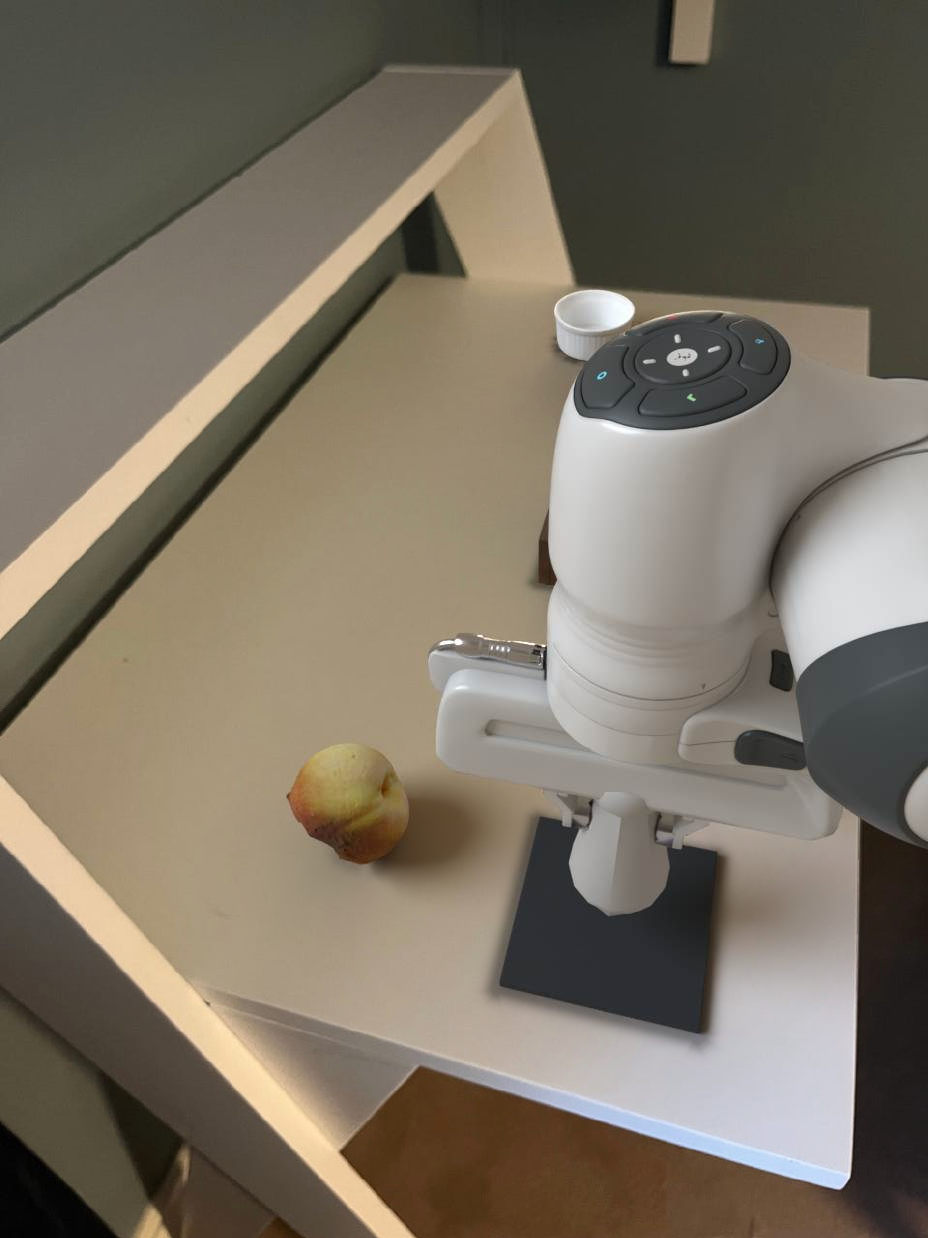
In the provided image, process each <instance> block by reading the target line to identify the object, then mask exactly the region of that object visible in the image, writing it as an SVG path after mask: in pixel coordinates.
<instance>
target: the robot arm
mask: <svg viewBox="0 0 928 1238" xmlns="http://www.w3.org/2000/svg"><path fill="white" fill-rule="evenodd" d="M549 488H550V489H549V504H548V505H549V506H548V509H549V534H548V545H549V555H550V560H551V564H552V567H553V570H554V573H555V575H556V578H557V582H556V584H555V585H553V588H552V590H551V593H550V597H549V599H548V600H549V601H548V606H547V614H546V615H547V617H546V644H542V643H535V642H530V641H524V640H512V639H511V640H510V639H498V638H491V637H486V636H485V635H482V634H478V633H474V632H472V633H471V632H460V633H457V634H456V636H455V638H446V639H441V640H440V641H438V642H436V643H433V645H431V647H430V648H429V651H428V655H427V662H428V671H429V678H430V683H431V684H432V685H433V687H434V688H435V689H436V690H437V692H439V693H440V694H441V695H442V696H441V699H440V702H439V706H438V711H437V716H436V724H435V726H436V727H435V754H436V757H437V759H438V760H439V761H440V762H441V763H443V765H444V766H446V767H447V768H448V769H450V771H452V772H455V773H458V774H463V775H469V776H473V777H479V778H484V779H489V780H494V781H500V782H504V783H510V784H515V785H520V786H524V787H531V788H535V789H541V790H542V793H543V794H544V796H545V797H546V798H547V799H548V800H549V802H551V803H552V804H553V805H554V806H555V808H557V809H558V810H559V811H560V812H562V820H561V821H562V825H563V826H566V827H571V828H577V829H583V830H588V827H589V824H588V823H589V819H590V812H591V804H592V801H593V799H597V800H600V798H601V797H603V795H604V793H605V792H625V793H628V794H631V795H634V796H637V797H640V798H642V799H644V800H645V804H646V805H647V806H648V808H649V810H654V811H659V812H660V819H659V820H658V825H657V831H656V839H655V844H657V845H661V846H666V847H670V848H675V849H680V850H681V849H682V845H684V844H683V843H684V839H685V837H687V836H690V835H692V834H694V833H696V832H698V831H700V830H702V829H704V828H706V827H708V826H710V822H712V823H717V824H722V825H727V826H731V827H737V828H741V829H747V830H753V831H758V832H763V833H767V834H774V835H779V836H784V837H789V838H794V839H797V840H803V841H809V842H811V841H817V840H820V839H824V838H827V837H830V836H832V835H834V834H835V833H836V832H837V829H838V828H839V825H840V822H841V819H842V815H843V811H844V809H846V810H847V811H848V812H850V813H851V814H853V815H855V816H856V817H857V818H860V819H861V820H862V821H863V822H866V823H868V824H869V825H870V826H873V827H874V828H876V829H878V830H880V831H882V832H883V833H886V834H888V835H890V836H892V837H894V838H896V839H898V840H901V841H903V842H905V843H908V844H911V845H913V846H916V847H918V848H919V847H920V848H922V849H925V850H928V377H921V376H911V375H896V376H895V375H893V376H878V377H875V376H870V375H864V374H861V373H856V372H853V371H850V370H847V369H843V368H841V367H837V366H835V365H832V364H830V363H827V362H825V361H823V360H820V359H818V358H816V357H815V356H813V355H811V354H809V353H807V352H806V351H804V350H803V349H802V348H800V347H798V345H796V344H795V343H794V342H793V341H791V339H790V338H788V336H786V335H785V333H783V332H782V330H780V329H779V328H777V327H776V326H774V325H772V324H771V323H769V322H767V321H765V320H762V319H759V318H757V317H754V316H751V315H747V314H744V313H739V312H734V311H726V310H691V311H682V312H676V313H670V314H667V315H663V316H659V317H656V318H653V319H649V320H647V321H643V322H641V323H639V324H637V325H634V326H631V328H630V329H628V330H626V331H624V332H622V333H620V334H618V335H617V336H615V337H614V338H612V339H611V340H609V341H608V342H607V343H605V344H604V345H603V346H602V347H601V348H600V349H599V350H598V351H597V352H596V353H595V354H594V355H593V356H592V357H591V358H590V359H589V360H588V361H586V362H585V364H584V365H583V367H582V368H581V369H580V371H579V372H578V374H577V375H576V377H575V379H574V381H573V383H572V384H571V387H570V389H569V392H568V394H567V397H566V400H565V403H564V405H563V409H562V412H561V416H560V420H559V425H558V429H557V433H556V438H555V444H554V450H553V458H552V466H551V475H550V487H549Z"/></svg>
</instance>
